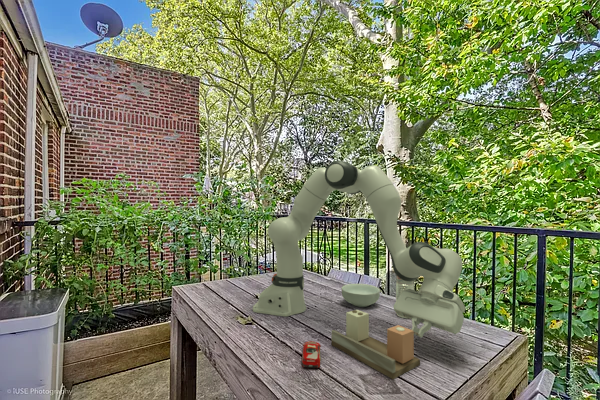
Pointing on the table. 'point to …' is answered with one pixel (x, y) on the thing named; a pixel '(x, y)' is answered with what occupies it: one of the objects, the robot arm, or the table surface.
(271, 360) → the table surface
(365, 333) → the cream rectangular block
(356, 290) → the cereal bowl
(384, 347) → the board
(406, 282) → the water bottle
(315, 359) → the race car
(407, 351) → the terracotta key
